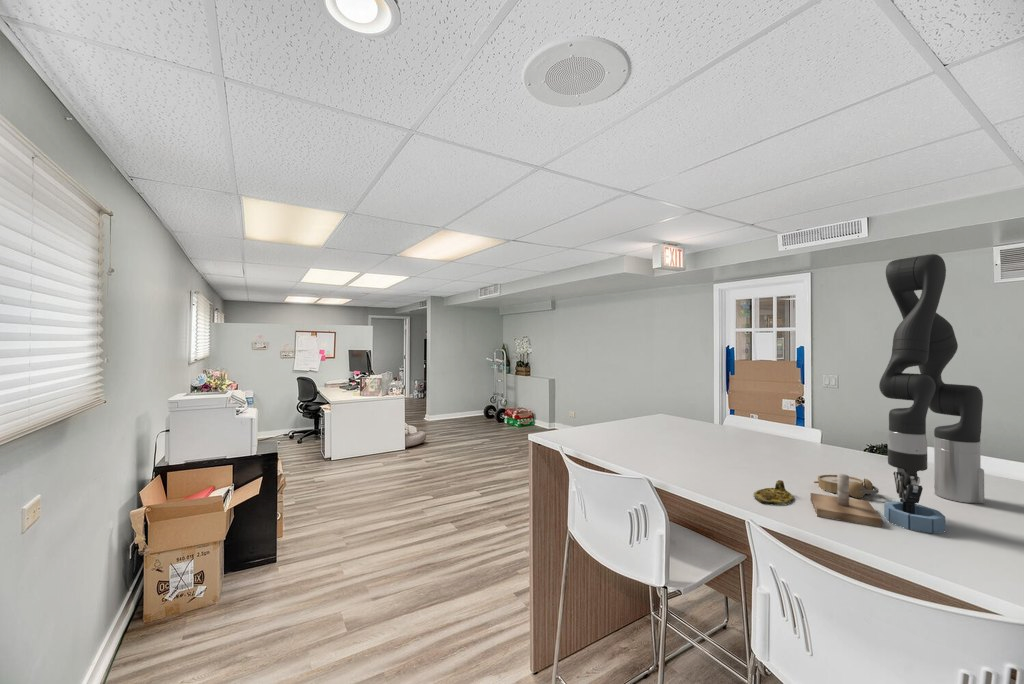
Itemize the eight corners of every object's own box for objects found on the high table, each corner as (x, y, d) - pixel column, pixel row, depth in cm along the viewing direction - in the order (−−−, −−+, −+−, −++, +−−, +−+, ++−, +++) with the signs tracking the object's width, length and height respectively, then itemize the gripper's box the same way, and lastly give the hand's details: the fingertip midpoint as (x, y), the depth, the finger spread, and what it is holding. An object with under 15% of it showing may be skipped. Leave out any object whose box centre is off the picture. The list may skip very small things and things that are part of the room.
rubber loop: (933, 519, 106) (933, 506, 106) (951, 536, 97) (951, 521, 97) (880, 511, 111) (880, 498, 111) (892, 527, 102) (892, 512, 102)
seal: (782, 514, 113) (799, 499, 123) (784, 497, 113) (801, 484, 122) (746, 500, 120) (764, 487, 130) (747, 485, 120) (766, 473, 130)
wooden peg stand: (868, 508, 113) (868, 472, 113) (881, 527, 102) (881, 486, 102) (810, 499, 120) (810, 465, 120) (817, 516, 108) (816, 478, 108)
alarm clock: (828, 472, 136) (884, 477, 122) (831, 488, 135) (888, 495, 122) (809, 478, 130) (865, 483, 117) (812, 494, 130) (869, 501, 116)
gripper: (937, 457, 100) (937, 528, 100) (917, 445, 112) (917, 508, 112) (896, 453, 104) (896, 522, 104) (880, 441, 116) (881, 503, 116)
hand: (907, 514), depth 108 cm, fingers closed on rubber loop, 1 cm apart
